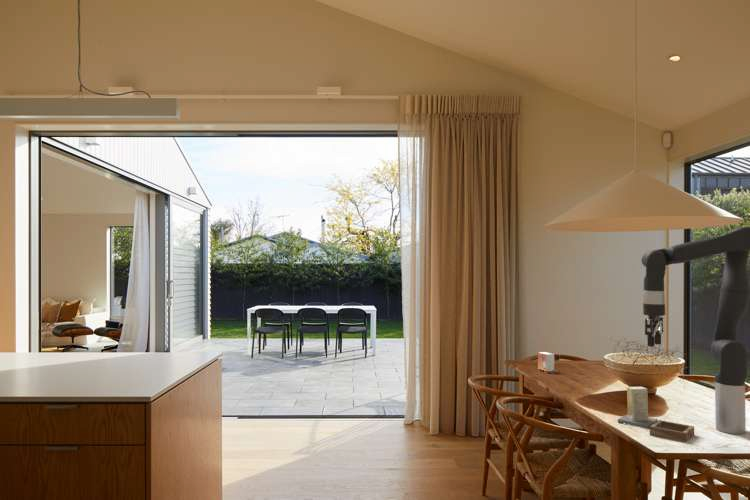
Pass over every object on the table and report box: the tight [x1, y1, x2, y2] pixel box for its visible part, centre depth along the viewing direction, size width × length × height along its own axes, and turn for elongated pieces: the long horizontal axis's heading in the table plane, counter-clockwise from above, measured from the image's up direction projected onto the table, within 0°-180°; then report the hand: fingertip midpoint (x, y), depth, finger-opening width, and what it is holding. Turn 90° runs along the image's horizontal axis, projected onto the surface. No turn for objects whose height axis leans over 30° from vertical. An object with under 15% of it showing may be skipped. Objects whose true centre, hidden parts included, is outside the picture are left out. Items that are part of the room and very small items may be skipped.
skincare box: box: [626, 386, 649, 421], centre depth 206 cm, size 6×4×12 cm
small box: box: [537, 351, 555, 371], centre depth 308 cm, size 8×6×10 cm
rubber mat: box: [617, 413, 659, 429], centre depth 206 cm, size 11×11×1 cm
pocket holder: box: [649, 419, 695, 443], centre depth 191 cm, size 11×11×3 cm
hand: (654, 345), depth 204 cm, fingers open, 8 cm apart
